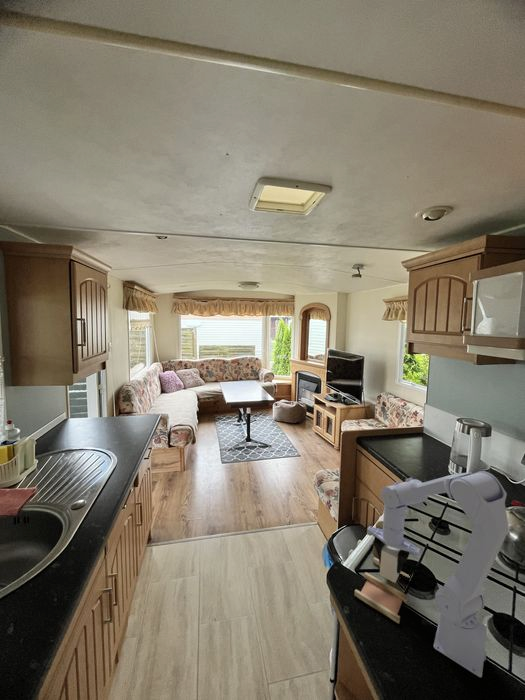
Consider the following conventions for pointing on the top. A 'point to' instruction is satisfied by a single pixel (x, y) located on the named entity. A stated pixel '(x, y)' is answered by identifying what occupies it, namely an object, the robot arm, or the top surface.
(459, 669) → the top surface
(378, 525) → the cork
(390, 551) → the peg
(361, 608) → the top surface
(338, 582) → the top surface
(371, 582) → the tray
